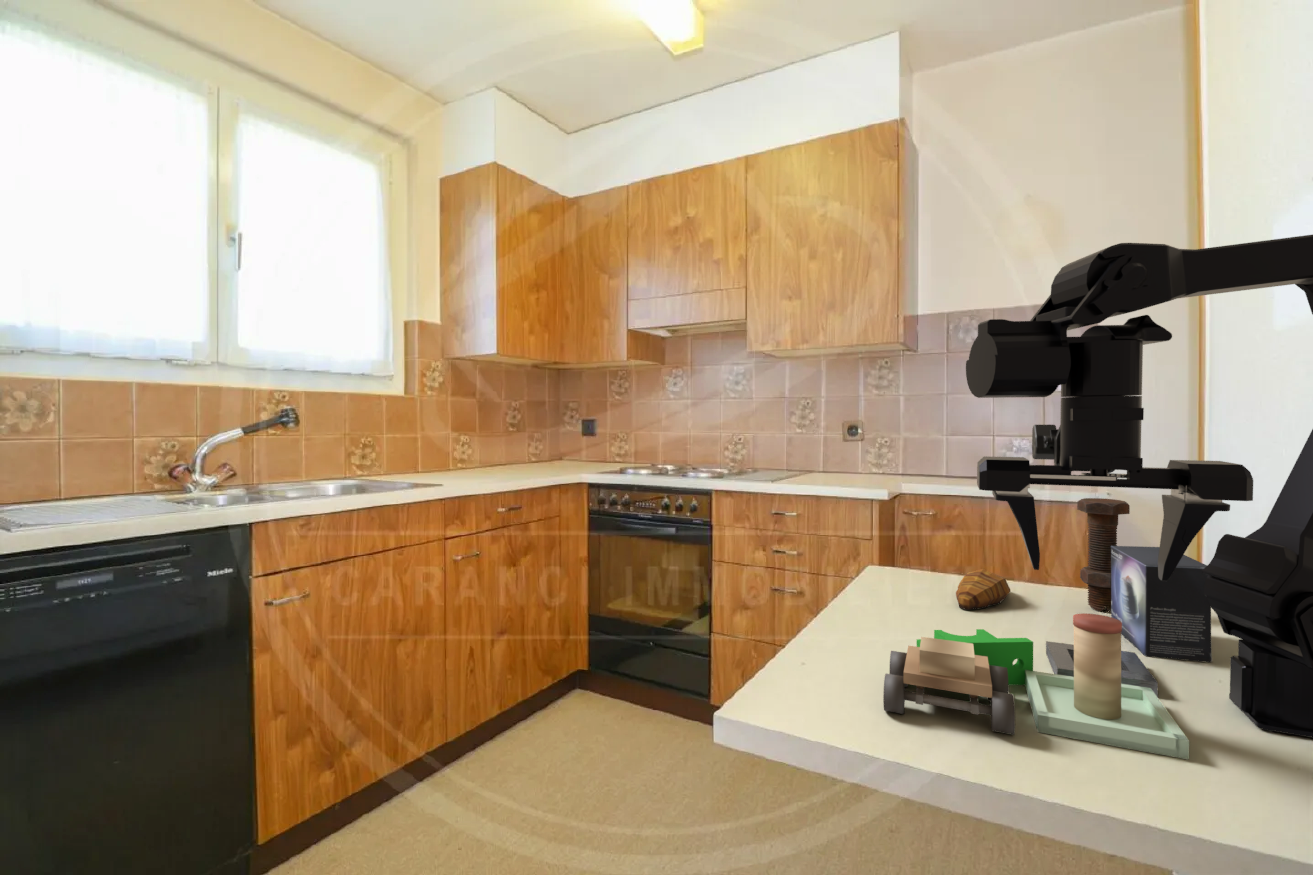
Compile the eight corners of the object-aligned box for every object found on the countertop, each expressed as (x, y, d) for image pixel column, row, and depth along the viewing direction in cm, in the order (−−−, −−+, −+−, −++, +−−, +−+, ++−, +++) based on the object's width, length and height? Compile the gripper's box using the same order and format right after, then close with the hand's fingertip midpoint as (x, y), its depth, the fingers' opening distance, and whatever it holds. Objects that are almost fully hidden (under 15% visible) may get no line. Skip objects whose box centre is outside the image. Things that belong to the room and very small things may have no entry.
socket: (1134, 665, 65) (1134, 652, 65) (1157, 696, 57) (1157, 682, 57) (1045, 653, 68) (1046, 641, 68) (1057, 681, 61) (1057, 668, 61)
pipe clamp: (1011, 671, 64) (1012, 628, 64) (1033, 687, 60) (1033, 641, 60) (905, 671, 64) (906, 628, 64) (920, 687, 60) (921, 642, 60)
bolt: (1072, 608, 83) (1073, 500, 83) (1080, 600, 87) (1081, 496, 86) (1125, 618, 79) (1126, 504, 79) (1131, 609, 83) (1132, 500, 82)
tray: (1150, 703, 56) (1150, 688, 56) (1188, 759, 47) (1189, 740, 47) (1024, 684, 60) (1024, 669, 60) (1037, 731, 51) (1037, 714, 51)
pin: (1116, 705, 55) (1115, 616, 54) (1127, 722, 51) (1126, 627, 51) (1069, 698, 56) (1069, 611, 56) (1077, 714, 53) (1077, 622, 53)
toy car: (1005, 695, 58) (1006, 634, 58) (1014, 741, 50) (1015, 671, 50) (892, 676, 63) (892, 620, 62) (883, 716, 54) (883, 651, 54)
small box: (1106, 625, 77) (1107, 543, 77) (1168, 630, 75) (1169, 546, 74) (1141, 656, 67) (1142, 562, 67) (1214, 663, 65) (1216, 566, 65)
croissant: (990, 619, 81) (990, 582, 80) (939, 607, 86) (939, 572, 86) (1026, 598, 89) (1026, 564, 89) (977, 588, 95) (977, 557, 94)
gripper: (1203, 397, 56) (1199, 564, 56) (975, 400, 64) (974, 547, 65) (1259, 393, 46) (1253, 596, 46) (980, 398, 54) (978, 571, 55)
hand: (1097, 574), depth 53 cm, fingers open, 9 cm apart
